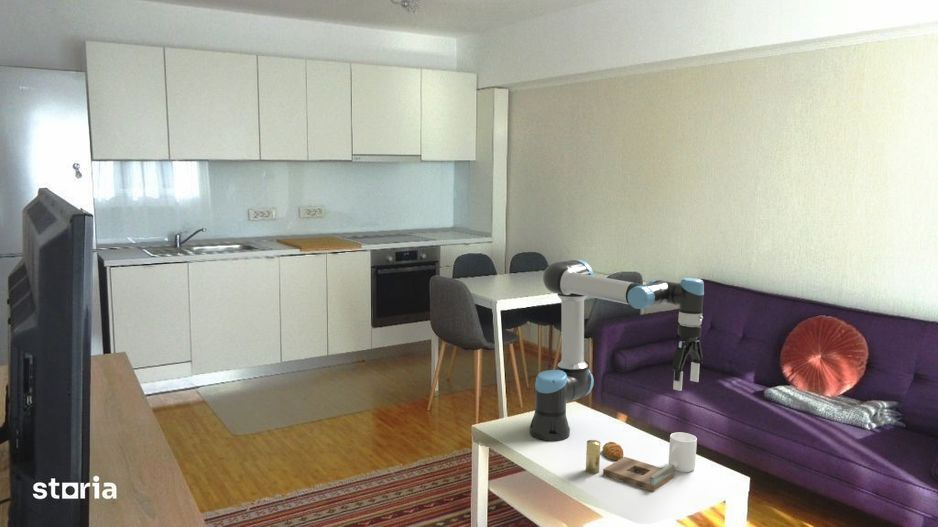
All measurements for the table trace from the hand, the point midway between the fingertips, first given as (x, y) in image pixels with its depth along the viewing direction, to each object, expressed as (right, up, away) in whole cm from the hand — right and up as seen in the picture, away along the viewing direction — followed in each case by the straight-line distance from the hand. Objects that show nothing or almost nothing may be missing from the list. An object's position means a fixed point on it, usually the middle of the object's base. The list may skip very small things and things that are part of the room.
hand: (686, 385), depth 243 cm
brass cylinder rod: (-33, -27, -7) cm, 43 cm away
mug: (-3, -28, -3) cm, 28 cm away
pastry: (-23, -26, +8) cm, 36 cm away
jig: (-19, -28, -10) cm, 35 cm away
